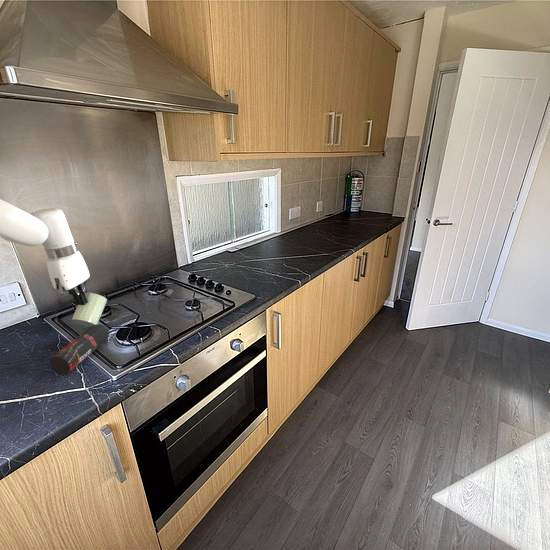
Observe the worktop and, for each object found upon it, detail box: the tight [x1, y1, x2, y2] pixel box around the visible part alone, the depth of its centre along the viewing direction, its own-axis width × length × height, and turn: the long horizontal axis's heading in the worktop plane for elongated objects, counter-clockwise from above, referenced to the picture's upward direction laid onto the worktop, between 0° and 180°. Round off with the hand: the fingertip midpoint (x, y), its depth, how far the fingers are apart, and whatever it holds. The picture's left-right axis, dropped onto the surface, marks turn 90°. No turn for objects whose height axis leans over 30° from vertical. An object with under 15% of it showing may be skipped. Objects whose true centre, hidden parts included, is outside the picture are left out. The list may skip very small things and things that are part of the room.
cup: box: [71, 292, 108, 328], centre depth 99 cm, size 7×7×10 cm
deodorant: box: [49, 324, 110, 375], centre depth 84 cm, size 6×6×15 cm
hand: (82, 303), depth 95 cm, fingers closed
